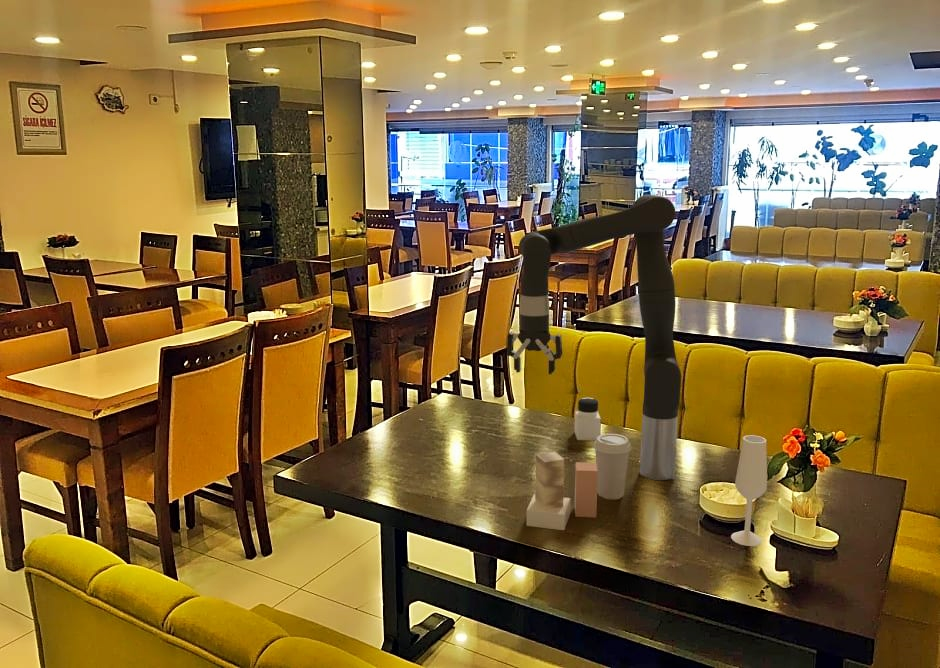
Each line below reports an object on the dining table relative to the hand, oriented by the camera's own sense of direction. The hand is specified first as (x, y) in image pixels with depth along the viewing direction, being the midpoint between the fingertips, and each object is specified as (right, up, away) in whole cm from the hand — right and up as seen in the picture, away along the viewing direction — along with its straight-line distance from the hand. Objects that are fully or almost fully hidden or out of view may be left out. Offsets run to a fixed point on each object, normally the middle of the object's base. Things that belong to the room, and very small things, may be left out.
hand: (534, 372), depth 200 cm
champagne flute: (+46, -37, -26) cm, 64 cm away
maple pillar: (+2, -30, -17) cm, 35 cm away
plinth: (+2, -34, -16) cm, 38 cm away
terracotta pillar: (+11, -34, -13) cm, 38 cm away
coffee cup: (+19, -31, -3) cm, 37 cm away
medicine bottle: (+20, -22, +38) cm, 48 cm away
